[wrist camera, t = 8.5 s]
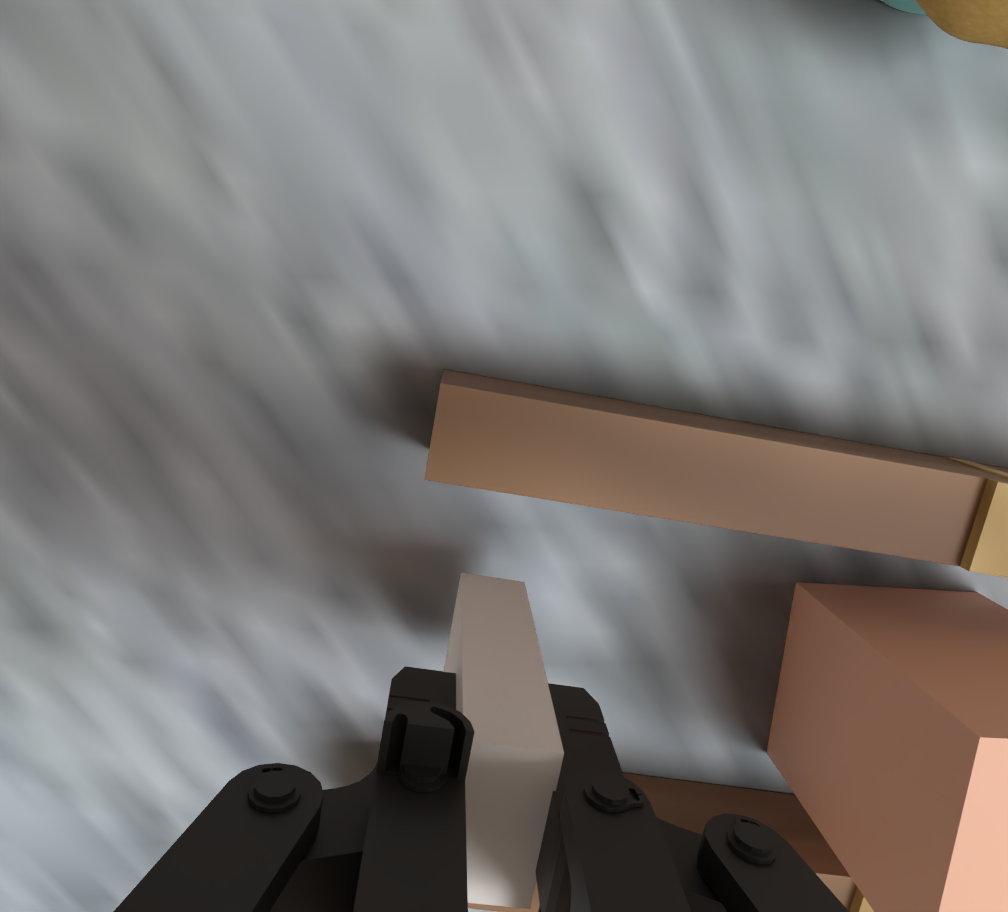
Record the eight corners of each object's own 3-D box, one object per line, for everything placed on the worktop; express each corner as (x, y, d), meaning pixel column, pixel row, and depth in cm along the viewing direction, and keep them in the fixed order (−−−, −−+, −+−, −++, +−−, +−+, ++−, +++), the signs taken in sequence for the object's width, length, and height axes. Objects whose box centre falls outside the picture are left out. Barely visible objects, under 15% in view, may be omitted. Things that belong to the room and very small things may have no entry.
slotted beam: (443, 366, 18) (440, 382, 14) (1393, 534, 20) (1572, 579, 17) (371, 809, 20) (353, 908, 17) (1227, 911, 22) (1357, 1014, 19)
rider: (795, 581, 19) (980, 737, 12) (976, 591, 20) (1250, 747, 13) (766, 752, 20) (921, 982, 14) (938, 758, 21) (1174, 986, 14)
